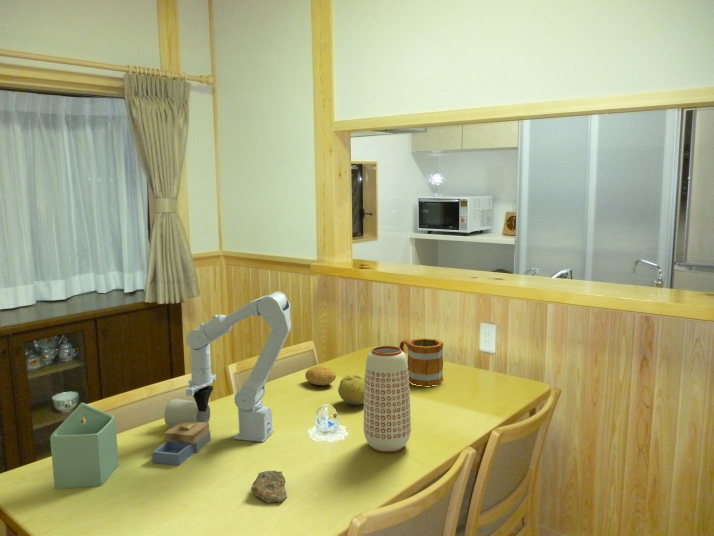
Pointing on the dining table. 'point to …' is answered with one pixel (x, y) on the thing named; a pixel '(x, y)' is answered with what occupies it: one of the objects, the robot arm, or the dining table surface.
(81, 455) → the planter
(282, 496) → the rock
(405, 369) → the vase
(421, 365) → the mug
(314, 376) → the potato
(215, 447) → the dining table surface
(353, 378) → the fruit
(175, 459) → the blue open tray
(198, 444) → the stand
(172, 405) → the mug
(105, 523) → the dining table surface
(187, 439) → the lid
